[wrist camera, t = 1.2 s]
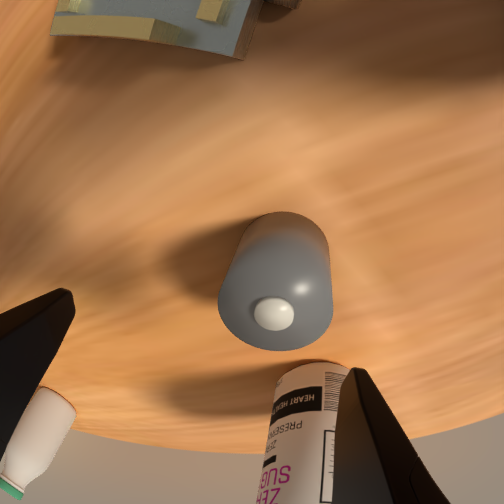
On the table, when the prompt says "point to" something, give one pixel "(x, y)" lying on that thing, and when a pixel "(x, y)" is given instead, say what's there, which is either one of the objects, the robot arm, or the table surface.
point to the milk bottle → (35, 440)
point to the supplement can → (302, 436)
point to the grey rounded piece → (278, 284)
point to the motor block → (166, 22)
